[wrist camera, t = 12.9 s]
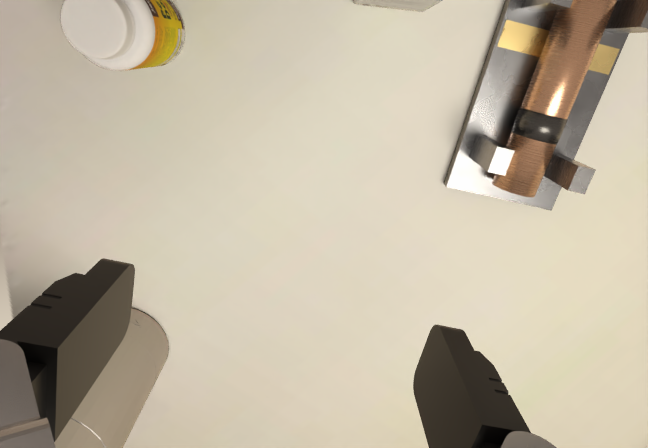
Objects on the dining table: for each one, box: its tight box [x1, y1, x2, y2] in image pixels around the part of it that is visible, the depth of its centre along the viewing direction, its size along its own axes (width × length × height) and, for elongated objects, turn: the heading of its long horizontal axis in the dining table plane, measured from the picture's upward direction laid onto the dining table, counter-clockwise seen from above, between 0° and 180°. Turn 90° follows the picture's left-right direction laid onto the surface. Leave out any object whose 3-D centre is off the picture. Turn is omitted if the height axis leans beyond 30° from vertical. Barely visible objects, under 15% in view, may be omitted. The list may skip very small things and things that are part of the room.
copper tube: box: [492, 0, 617, 197], centre depth 36 cm, size 17×4×4 cm, turn 167°
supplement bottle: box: [60, 0, 185, 71], centre depth 32 cm, size 6×6×10 cm
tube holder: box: [444, 0, 648, 210], centre depth 36 cm, size 20×10×6 cm, turn 167°
